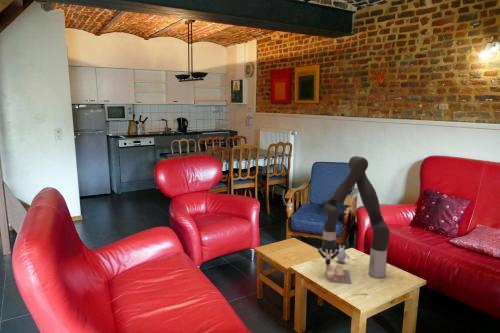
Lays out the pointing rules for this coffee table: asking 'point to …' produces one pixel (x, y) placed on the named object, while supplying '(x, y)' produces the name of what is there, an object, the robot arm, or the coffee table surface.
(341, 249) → the toy figure
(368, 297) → the coffee table surface
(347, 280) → the felt mat
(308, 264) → the coffee table surface
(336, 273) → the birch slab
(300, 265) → the coffee table surface
